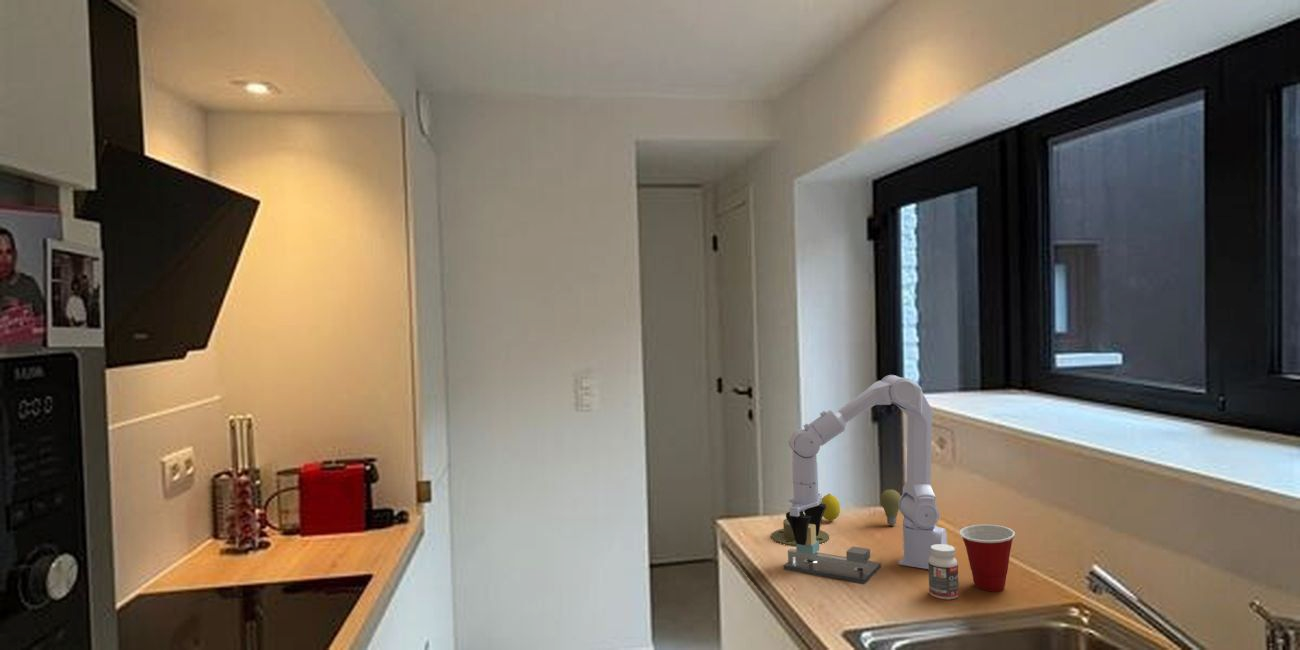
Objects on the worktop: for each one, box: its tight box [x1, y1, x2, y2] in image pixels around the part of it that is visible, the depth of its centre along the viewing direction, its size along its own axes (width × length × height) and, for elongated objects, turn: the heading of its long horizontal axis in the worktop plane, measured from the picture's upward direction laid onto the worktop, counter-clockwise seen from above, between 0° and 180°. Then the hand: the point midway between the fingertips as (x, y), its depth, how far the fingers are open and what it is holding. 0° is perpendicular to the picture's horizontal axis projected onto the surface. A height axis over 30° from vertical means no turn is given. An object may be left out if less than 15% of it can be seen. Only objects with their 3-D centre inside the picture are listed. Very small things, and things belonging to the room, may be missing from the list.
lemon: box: [820, 493, 841, 523], centre depth 205 cm, size 6×6×8 cm
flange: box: [770, 518, 830, 547], centre depth 192 cm, size 5×15×15 cm
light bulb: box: [879, 488, 902, 527], centre depth 199 cm, size 6×6×10 cm
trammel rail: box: [787, 546, 871, 575], centre depth 166 cm, size 19×4×5 cm, turn 56°
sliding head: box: [795, 524, 820, 561], centre depth 169 cm, size 4×4×9 cm
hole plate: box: [783, 551, 882, 585], centre depth 168 cm, size 19×12×1 cm, turn 56°
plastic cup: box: [959, 524, 1016, 592], centre depth 154 cm, size 11×11×12 cm
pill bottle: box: [928, 544, 960, 600], centre depth 150 cm, size 6×6×10 cm
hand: (807, 539), depth 169 cm, fingers open, 7 cm apart
